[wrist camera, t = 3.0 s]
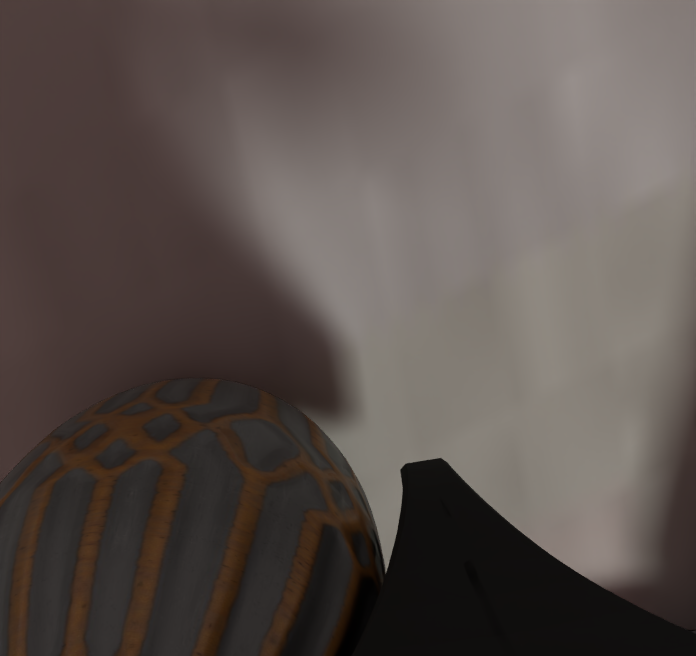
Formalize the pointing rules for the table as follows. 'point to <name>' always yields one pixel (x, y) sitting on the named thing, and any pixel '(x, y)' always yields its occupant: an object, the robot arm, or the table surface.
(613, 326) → the table surface
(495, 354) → the table surface
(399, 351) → the table surface
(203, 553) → the vase
